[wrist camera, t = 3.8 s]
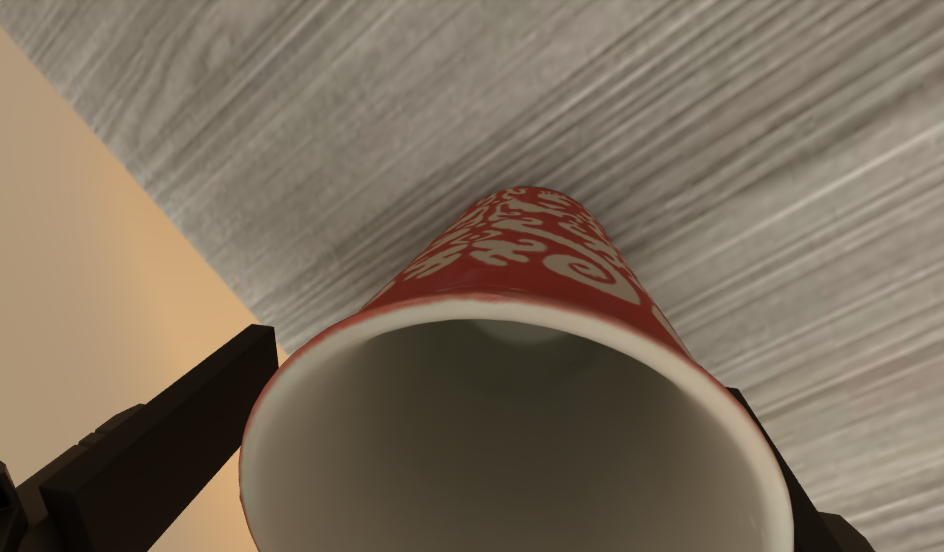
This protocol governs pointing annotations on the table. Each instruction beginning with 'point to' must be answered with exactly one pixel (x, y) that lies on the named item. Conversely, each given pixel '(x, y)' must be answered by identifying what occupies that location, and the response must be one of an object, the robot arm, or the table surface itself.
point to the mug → (508, 411)
